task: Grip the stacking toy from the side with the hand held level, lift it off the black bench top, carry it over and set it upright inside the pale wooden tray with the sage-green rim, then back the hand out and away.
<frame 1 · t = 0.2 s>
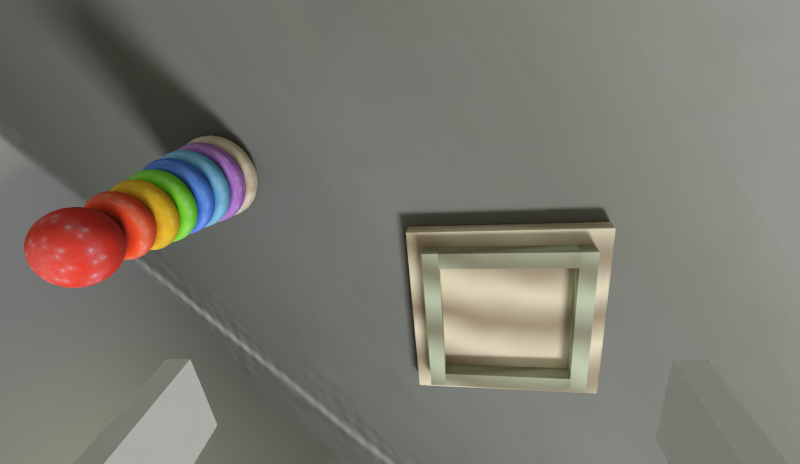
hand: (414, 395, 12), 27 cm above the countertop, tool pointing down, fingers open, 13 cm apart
rimmed tray: (504, 307, 41), on the countertop
stacking toy: (224, 174, 41), on the countertop
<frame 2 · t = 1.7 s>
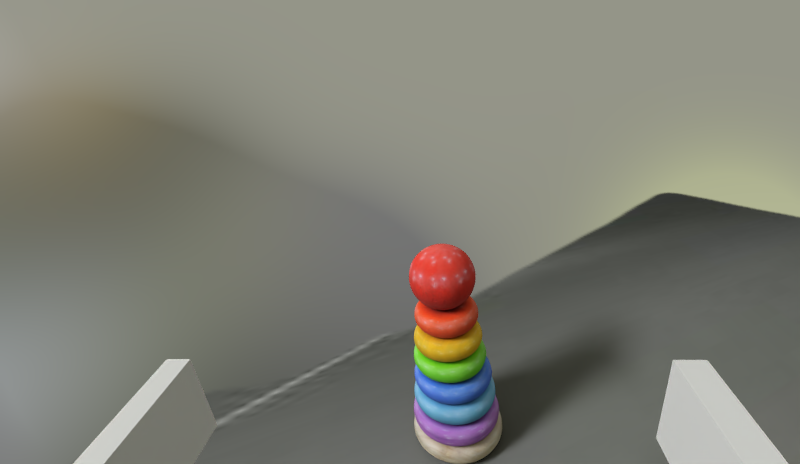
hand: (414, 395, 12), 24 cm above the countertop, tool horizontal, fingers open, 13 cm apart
stacking toy: (458, 430, 38), on the countertop
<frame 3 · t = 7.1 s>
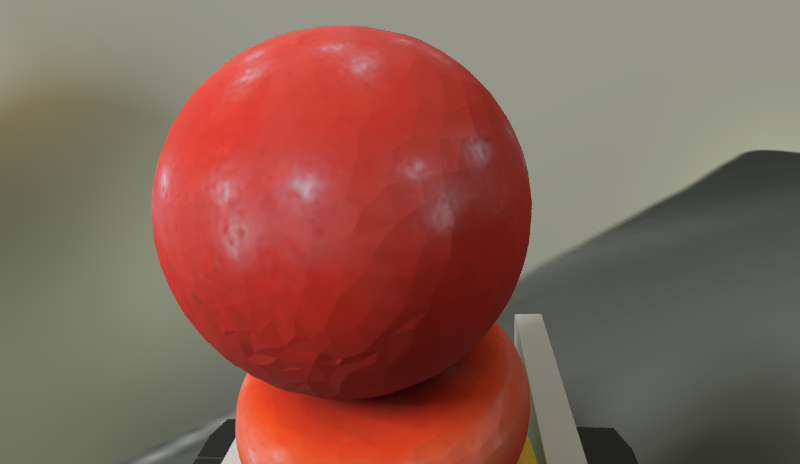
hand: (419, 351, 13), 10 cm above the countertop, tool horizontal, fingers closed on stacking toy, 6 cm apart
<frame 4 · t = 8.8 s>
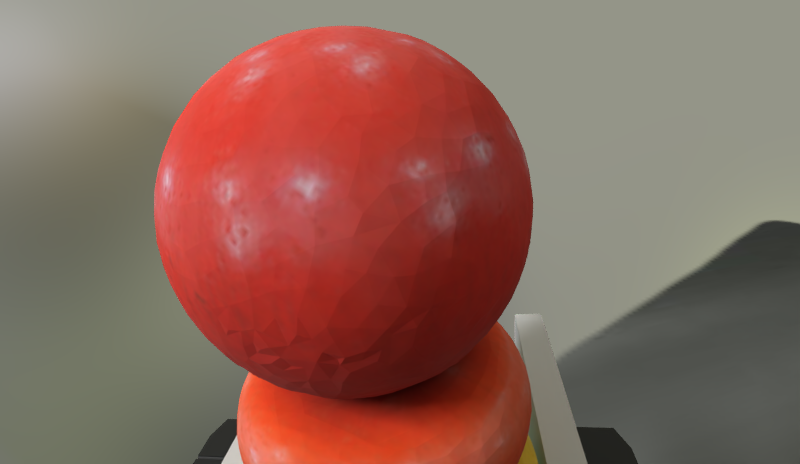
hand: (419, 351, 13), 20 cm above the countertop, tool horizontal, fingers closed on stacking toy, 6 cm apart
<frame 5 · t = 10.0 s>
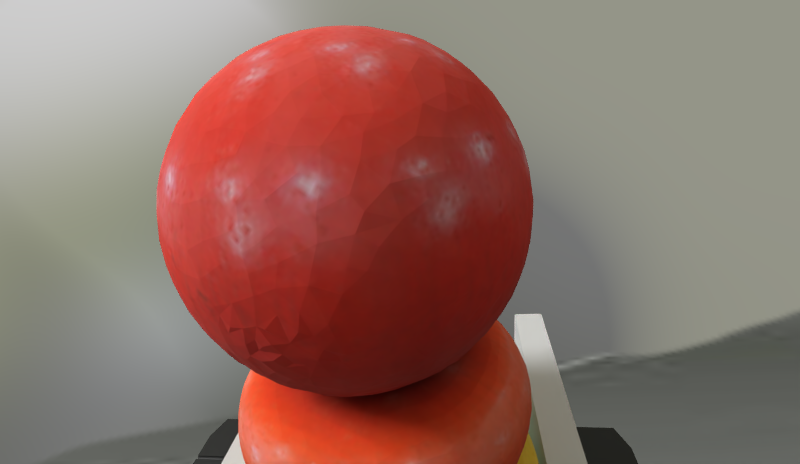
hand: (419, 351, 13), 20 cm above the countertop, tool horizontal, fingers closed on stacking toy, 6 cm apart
when the fingers open (12 cm above the countertop, at t = 13.0 s): stacking toy drops 1 cm, resting on rimmed tray.
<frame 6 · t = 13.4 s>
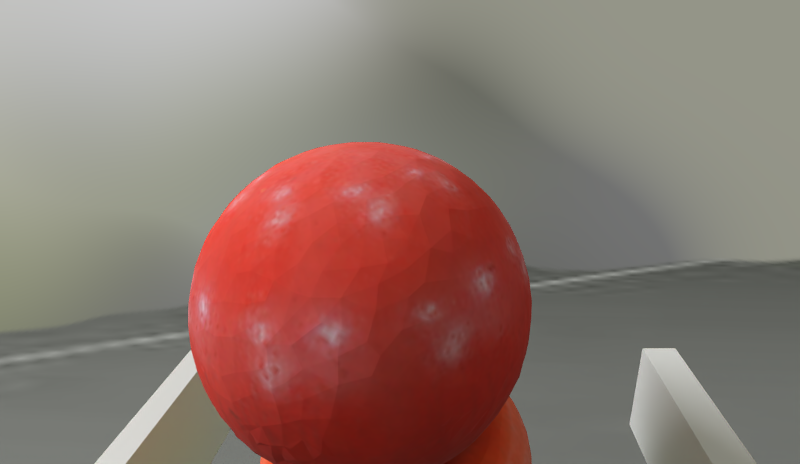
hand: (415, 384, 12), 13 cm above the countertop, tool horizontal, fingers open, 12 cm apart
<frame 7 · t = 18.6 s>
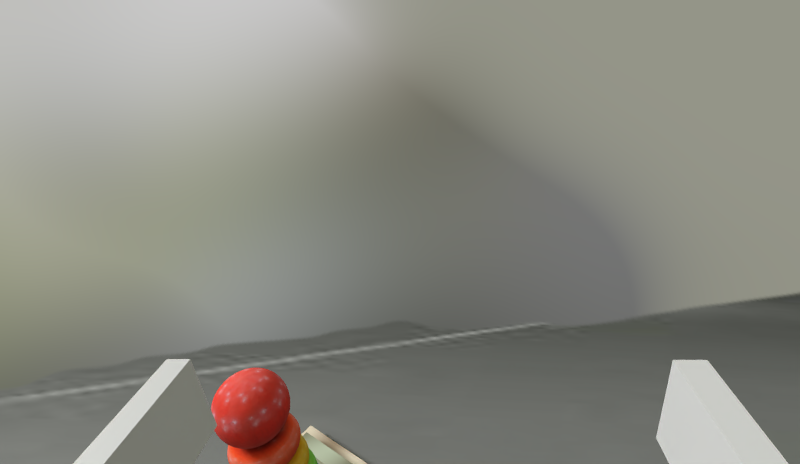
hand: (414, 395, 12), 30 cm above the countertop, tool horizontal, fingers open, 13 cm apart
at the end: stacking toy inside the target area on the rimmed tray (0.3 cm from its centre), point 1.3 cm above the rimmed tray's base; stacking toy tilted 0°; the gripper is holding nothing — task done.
